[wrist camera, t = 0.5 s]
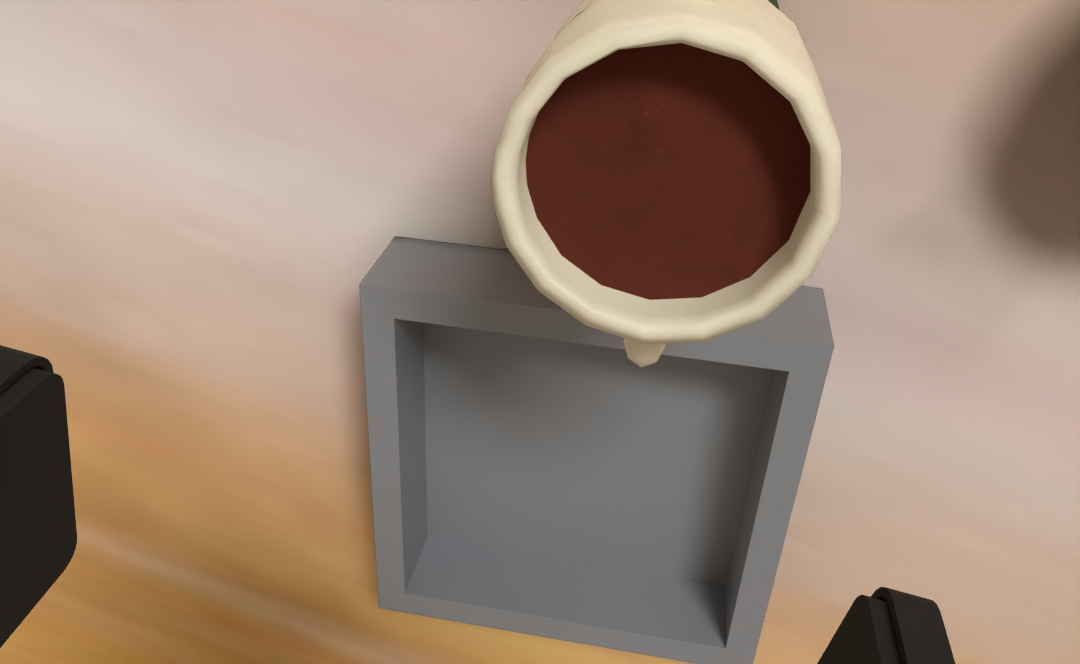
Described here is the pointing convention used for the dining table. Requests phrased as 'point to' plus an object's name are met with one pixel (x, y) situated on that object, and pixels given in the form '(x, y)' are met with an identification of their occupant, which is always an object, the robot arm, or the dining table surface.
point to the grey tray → (579, 459)
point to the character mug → (669, 169)
